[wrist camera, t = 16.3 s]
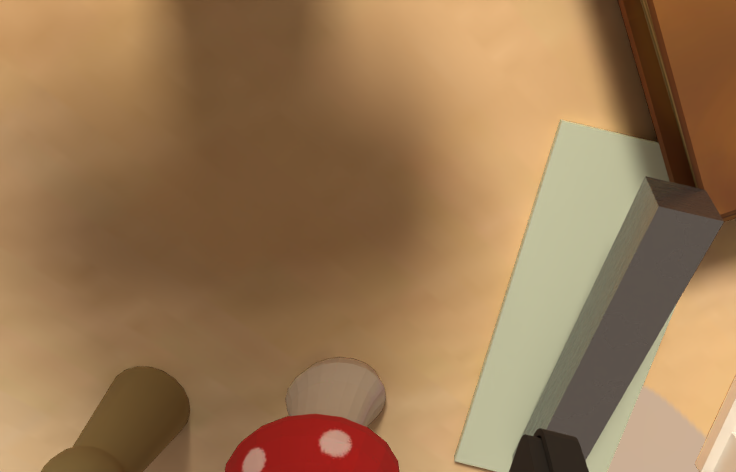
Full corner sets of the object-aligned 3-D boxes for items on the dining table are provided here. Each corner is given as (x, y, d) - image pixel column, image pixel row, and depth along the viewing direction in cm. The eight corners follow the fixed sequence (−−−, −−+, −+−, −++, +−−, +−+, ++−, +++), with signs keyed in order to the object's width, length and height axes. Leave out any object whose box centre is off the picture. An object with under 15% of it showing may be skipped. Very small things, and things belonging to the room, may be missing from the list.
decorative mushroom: (292, 454, 47) (229, 642, 32) (249, 351, 44) (161, 504, 30) (425, 425, 45) (419, 611, 31) (387, 315, 42) (362, 461, 28)
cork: (205, 421, 47) (138, 536, 36) (139, 450, 48) (56, 568, 38) (160, 353, 45) (76, 452, 35) (92, 385, 47) (-7, 489, 36)
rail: (645, 176, 32) (658, 206, 29) (705, 190, 32) (723, 221, 29) (512, 455, 44) (513, 493, 42) (555, 466, 44) (559, 505, 41)
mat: (560, 119, 37) (562, 120, 37) (731, 159, 37) (735, 161, 37) (454, 455, 45) (454, 461, 45) (594, 490, 45) (596, 496, 44)
